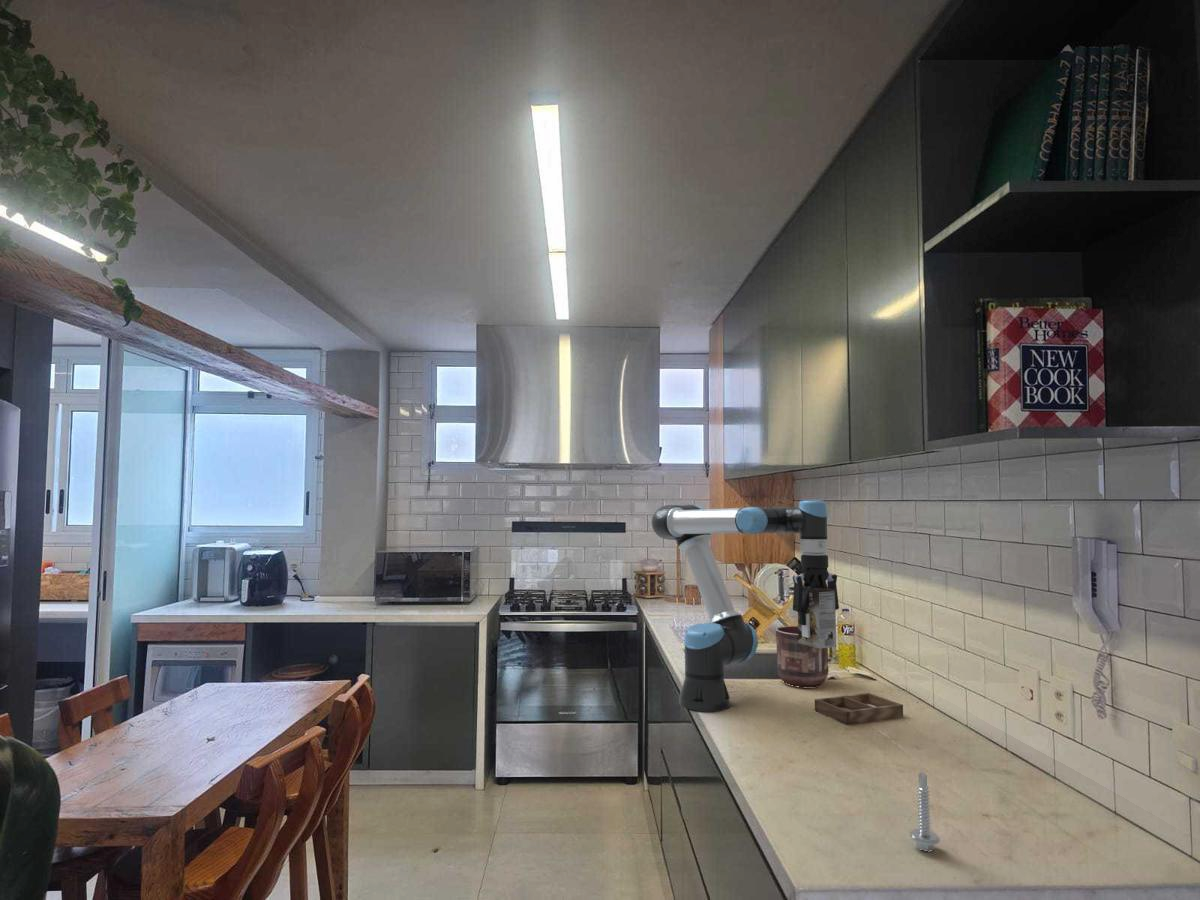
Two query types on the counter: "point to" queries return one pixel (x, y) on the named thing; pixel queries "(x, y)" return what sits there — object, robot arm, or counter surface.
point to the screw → (924, 819)
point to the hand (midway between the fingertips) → (816, 635)
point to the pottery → (799, 660)
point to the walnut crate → (858, 708)
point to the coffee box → (820, 619)
